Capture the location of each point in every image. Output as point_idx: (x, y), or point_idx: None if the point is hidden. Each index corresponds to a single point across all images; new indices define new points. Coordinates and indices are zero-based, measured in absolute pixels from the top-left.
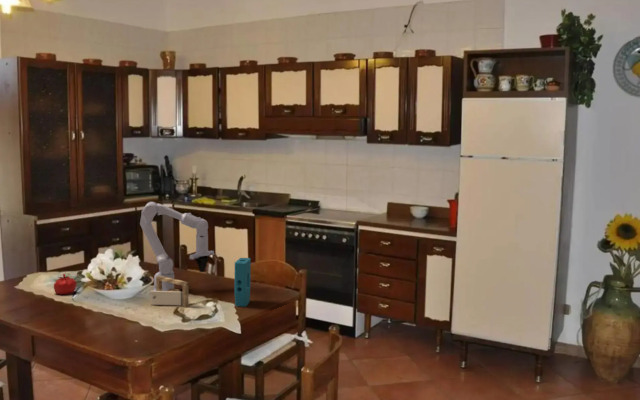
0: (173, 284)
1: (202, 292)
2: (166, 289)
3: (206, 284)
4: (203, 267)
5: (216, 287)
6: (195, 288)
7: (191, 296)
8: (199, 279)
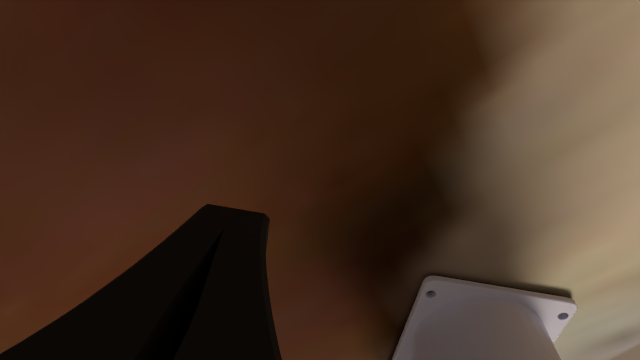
0: (484, 346)
1: (369, 31)
2: (547, 335)
3: (81, 188)
4: (230, 276)
5: (79, 19)
6: (267, 195)
7: (599, 39)
8: (21, 314)
